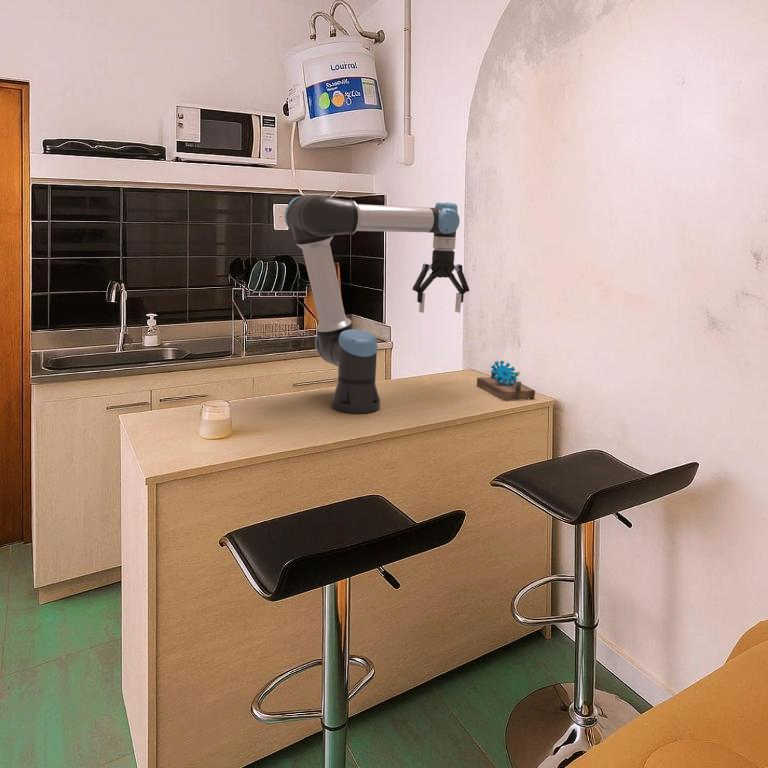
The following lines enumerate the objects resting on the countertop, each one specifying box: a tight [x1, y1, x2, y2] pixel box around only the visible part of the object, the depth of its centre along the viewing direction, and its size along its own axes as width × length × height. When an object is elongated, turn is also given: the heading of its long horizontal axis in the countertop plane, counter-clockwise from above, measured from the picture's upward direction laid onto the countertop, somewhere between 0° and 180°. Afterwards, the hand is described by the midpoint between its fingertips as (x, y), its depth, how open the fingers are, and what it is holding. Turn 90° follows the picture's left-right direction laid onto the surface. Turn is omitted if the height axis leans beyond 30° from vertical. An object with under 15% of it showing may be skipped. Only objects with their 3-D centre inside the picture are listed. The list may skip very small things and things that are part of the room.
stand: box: [476, 368, 536, 401], centre depth 236 cm, size 12×20×6 cm, turn 18°
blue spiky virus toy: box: [490, 359, 520, 386], centre depth 237 cm, size 11×6×10 cm
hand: (439, 312), depth 233 cm, fingers open, 13 cm apart
